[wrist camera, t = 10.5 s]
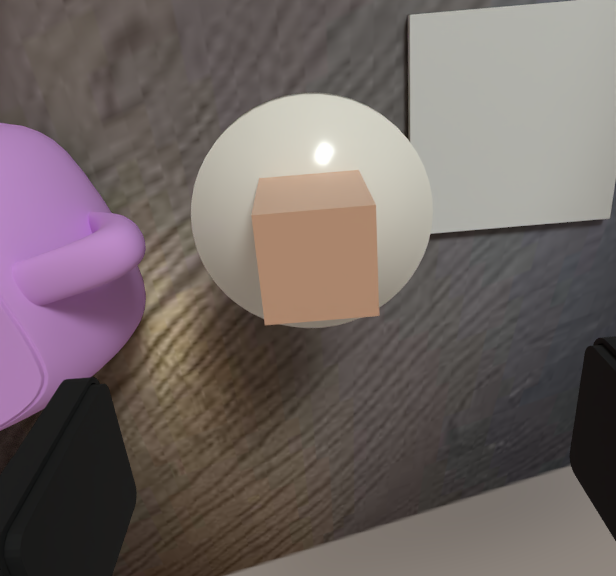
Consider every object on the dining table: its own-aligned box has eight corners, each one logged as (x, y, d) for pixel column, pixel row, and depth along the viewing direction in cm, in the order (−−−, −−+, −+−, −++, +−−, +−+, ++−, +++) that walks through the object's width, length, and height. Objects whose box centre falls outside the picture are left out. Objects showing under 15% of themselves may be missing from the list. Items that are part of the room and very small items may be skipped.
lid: (428, 82, 22) (473, 98, 17) (426, 308, 26) (462, 381, 21) (175, 103, 22) (139, 127, 17) (213, 326, 27) (193, 403, 21)
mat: (637, -5, 32) (643, -6, 32) (605, 215, 38) (609, 218, 37) (407, 15, 32) (409, 14, 32) (408, 232, 38) (410, 235, 37)
